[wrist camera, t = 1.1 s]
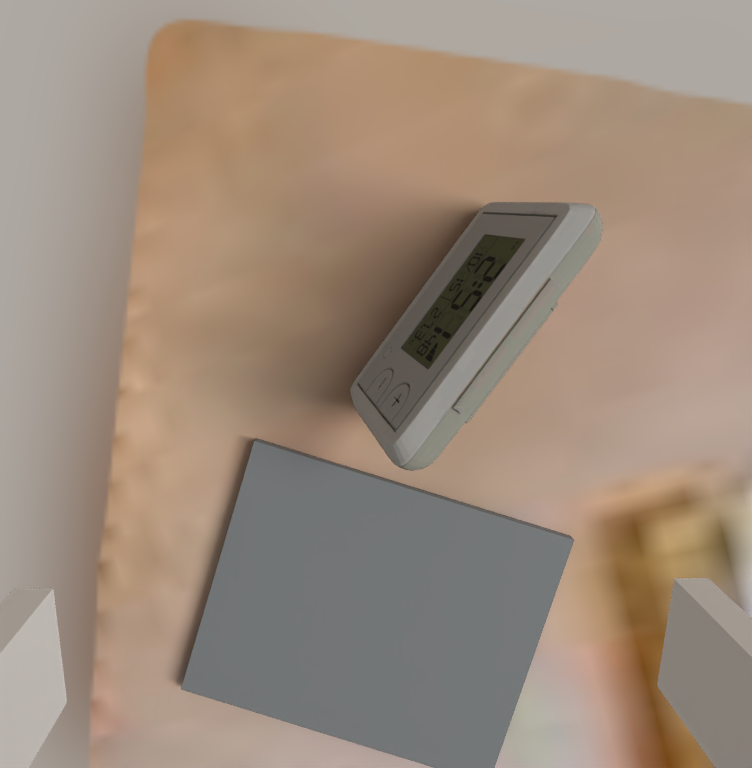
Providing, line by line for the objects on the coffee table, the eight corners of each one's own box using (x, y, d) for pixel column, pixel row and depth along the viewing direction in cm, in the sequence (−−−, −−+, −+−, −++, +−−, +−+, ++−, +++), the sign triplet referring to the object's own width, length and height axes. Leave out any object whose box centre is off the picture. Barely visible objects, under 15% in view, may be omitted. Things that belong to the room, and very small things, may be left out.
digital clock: (501, 192, 38) (544, 137, 27) (593, 297, 38) (670, 283, 28) (315, 361, 39) (288, 371, 29) (406, 461, 40) (413, 508, 29)
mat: (570, 535, 40) (574, 540, 39) (486, 775, 41) (488, 784, 40) (256, 438, 40) (254, 440, 39) (185, 682, 41) (180, 689, 40)
